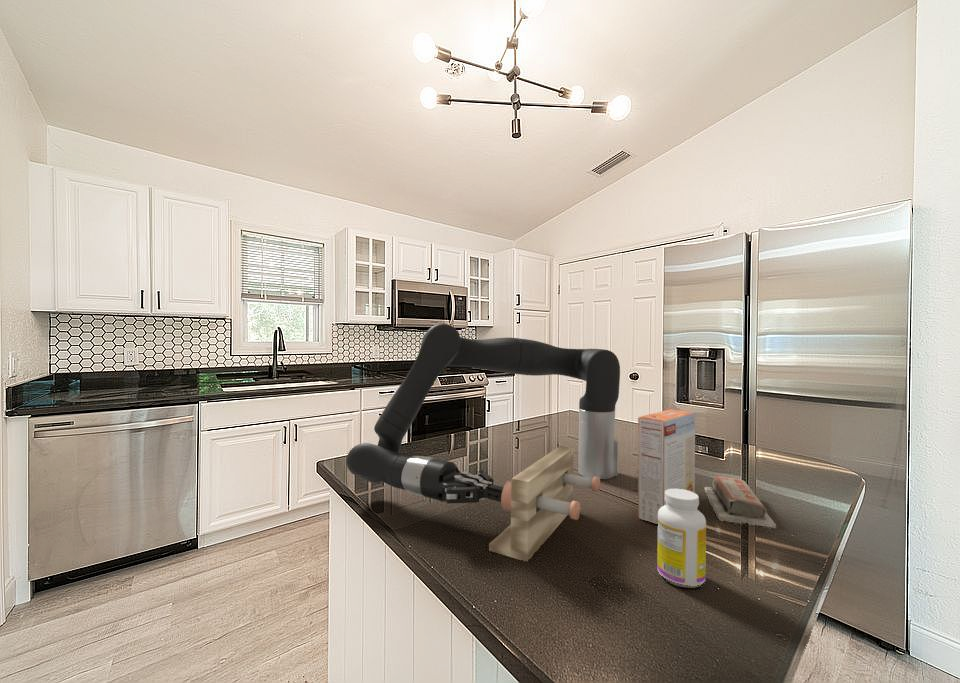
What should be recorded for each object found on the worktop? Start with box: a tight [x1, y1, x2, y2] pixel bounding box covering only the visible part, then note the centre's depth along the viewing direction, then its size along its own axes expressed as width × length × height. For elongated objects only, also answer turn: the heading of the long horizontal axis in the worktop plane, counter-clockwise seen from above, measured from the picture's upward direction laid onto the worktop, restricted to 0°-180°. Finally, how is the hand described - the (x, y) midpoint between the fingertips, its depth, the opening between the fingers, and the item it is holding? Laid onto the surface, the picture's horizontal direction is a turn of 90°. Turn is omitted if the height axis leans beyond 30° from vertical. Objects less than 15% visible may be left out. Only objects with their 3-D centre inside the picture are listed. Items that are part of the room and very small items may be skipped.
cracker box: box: [637, 408, 696, 524], centre depth 86 cm, size 14×6×21 cm, turn 131°
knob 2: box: [535, 460, 601, 493], centre depth 84 cm, size 13×5×5 cm, turn 60°
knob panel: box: [488, 445, 574, 563], centre depth 79 cm, size 7×24×13 cm, turn 150°
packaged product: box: [703, 475, 777, 529], centre depth 90 cm, size 18×5×10 cm
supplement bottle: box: [656, 489, 707, 586], centre depth 63 cm, size 7×7×13 cm
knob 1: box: [500, 480, 581, 521], centre depth 71 cm, size 13×5×5 cm, turn 60°
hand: (507, 495), depth 75 cm, fingers closed
